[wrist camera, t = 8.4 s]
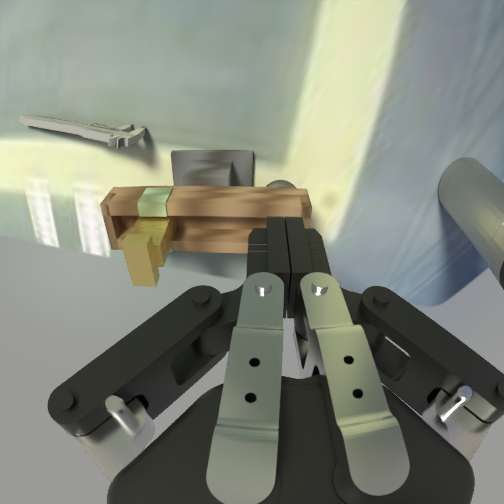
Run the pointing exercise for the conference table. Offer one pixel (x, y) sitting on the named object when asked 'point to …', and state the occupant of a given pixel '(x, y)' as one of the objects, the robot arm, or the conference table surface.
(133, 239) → the block
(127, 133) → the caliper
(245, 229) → the beam
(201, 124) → the conference table surface
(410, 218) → the conference table surface
